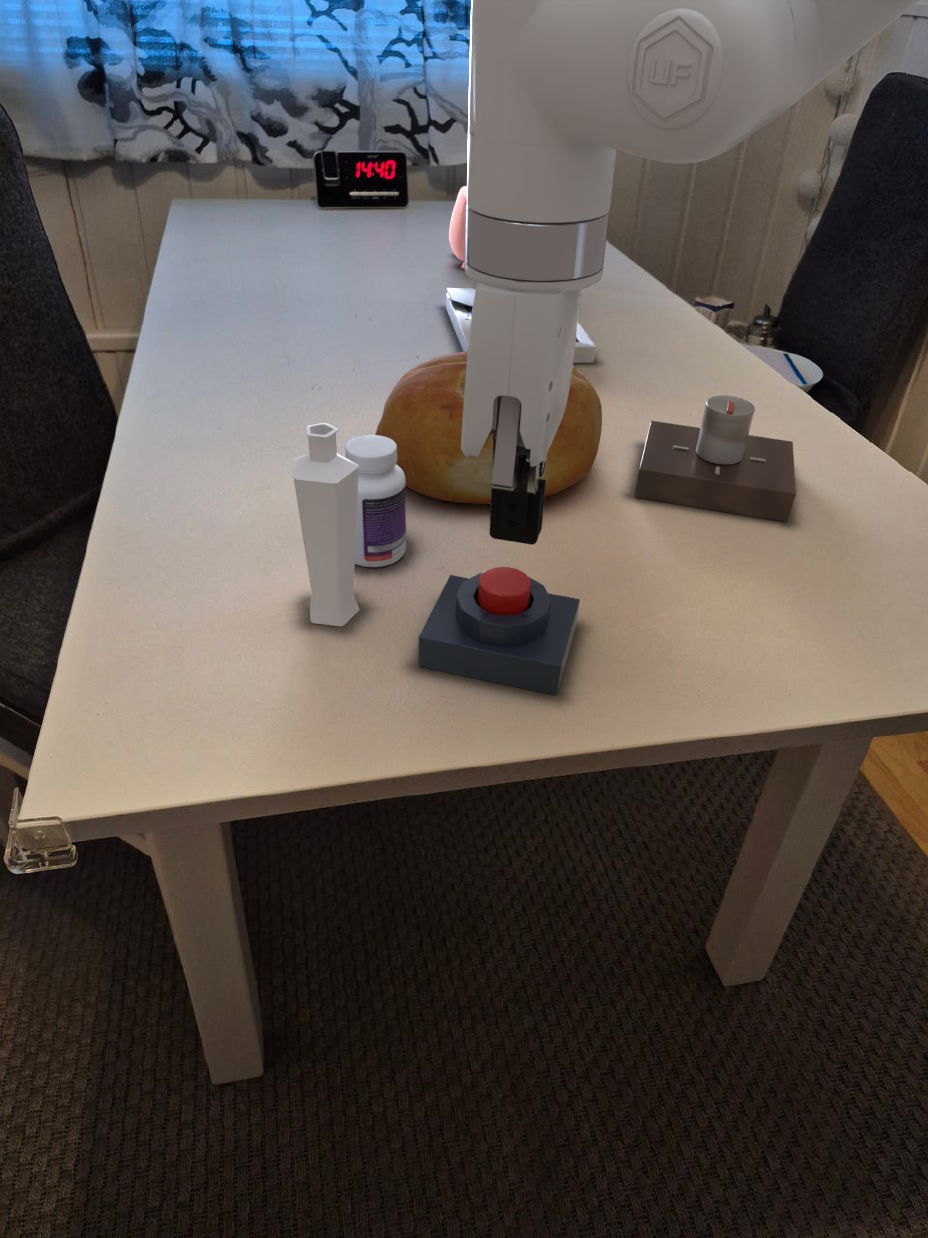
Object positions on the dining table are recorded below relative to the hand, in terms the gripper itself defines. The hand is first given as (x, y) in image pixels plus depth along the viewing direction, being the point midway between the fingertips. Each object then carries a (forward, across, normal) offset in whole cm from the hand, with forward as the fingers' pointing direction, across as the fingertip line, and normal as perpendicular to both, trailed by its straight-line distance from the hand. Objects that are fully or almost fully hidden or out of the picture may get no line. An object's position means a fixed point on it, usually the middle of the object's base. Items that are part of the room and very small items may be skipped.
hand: (515, 535), depth 58 cm
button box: (+10, 0, -1) cm, 10 cm away
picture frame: (+9, -64, -14) cm, 66 cm away
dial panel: (+10, -31, +13) cm, 35 cm away
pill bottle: (+10, -9, -14) cm, 19 cm away
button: (+6, 0, -1) cm, 6 cm away
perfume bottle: (+10, 0, -14) cm, 17 cm away
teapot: (+9, -95, -26) cm, 99 cm away
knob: (+7, -31, +13) cm, 35 cm away
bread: (+10, -28, -9) cm, 31 cm away
